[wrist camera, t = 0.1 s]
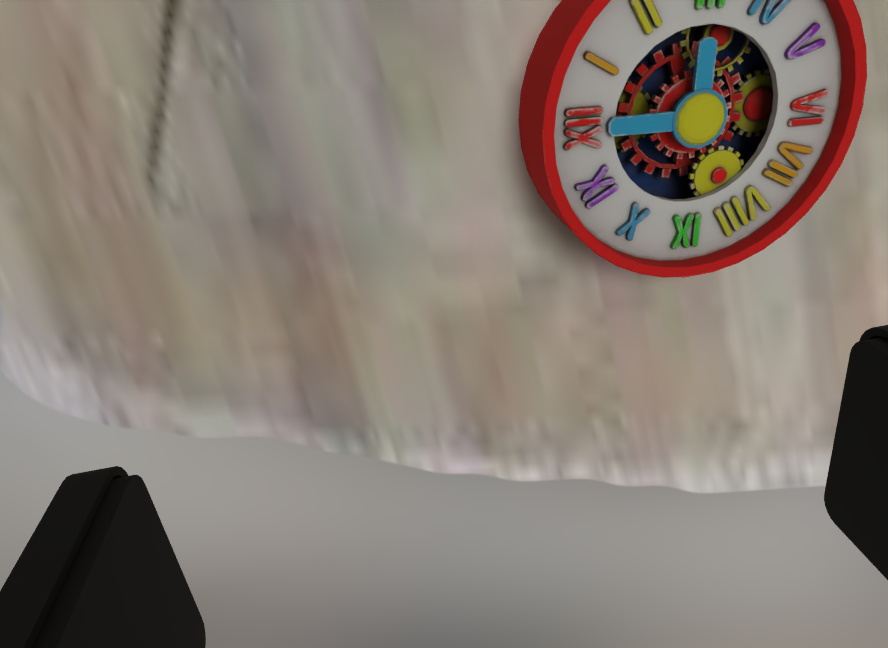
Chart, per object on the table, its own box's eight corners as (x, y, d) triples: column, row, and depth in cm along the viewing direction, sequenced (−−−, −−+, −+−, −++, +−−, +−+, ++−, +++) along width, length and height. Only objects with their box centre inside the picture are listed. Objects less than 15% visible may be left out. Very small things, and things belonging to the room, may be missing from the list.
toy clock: (830, 260, 45) (541, 294, 43) (779, 232, 50) (519, 261, 48) (904, -87, 36) (542, -64, 34) (832, -76, 41) (515, -56, 39)
